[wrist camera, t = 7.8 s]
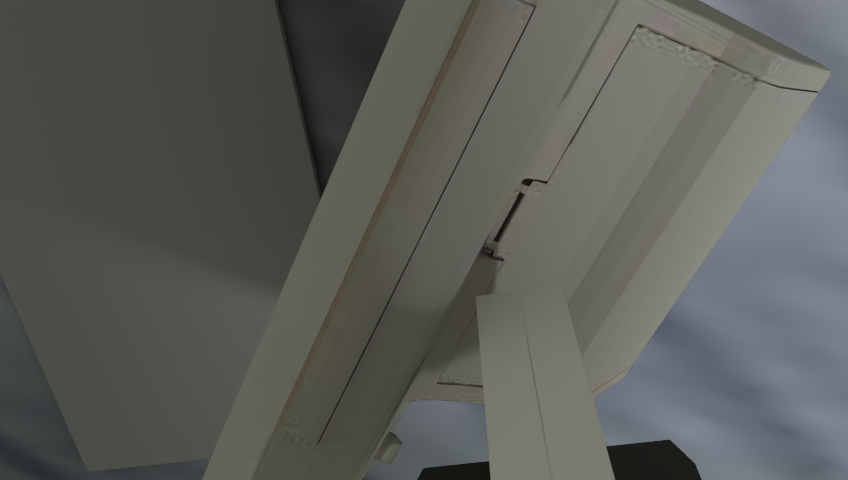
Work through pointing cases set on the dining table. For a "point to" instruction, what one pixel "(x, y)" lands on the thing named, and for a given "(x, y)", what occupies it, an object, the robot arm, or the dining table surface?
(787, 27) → the dining table surface
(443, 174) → the digital clock
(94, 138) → the mat
